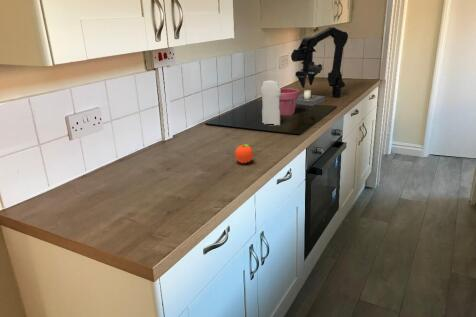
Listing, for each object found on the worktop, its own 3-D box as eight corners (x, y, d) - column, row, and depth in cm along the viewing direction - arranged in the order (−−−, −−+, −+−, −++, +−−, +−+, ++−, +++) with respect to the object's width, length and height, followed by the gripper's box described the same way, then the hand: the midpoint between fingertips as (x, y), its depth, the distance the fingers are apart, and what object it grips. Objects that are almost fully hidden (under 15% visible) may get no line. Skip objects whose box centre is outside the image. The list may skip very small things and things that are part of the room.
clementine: (244, 157, 158) (244, 140, 156) (258, 160, 154) (258, 143, 152) (231, 163, 153) (230, 145, 150) (246, 167, 148) (245, 149, 146)
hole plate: (302, 97, 256) (302, 93, 255) (325, 100, 246) (325, 96, 245) (289, 102, 244) (289, 98, 243) (312, 105, 235) (312, 101, 234)
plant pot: (286, 109, 230) (286, 86, 225) (304, 113, 219) (304, 90, 214) (267, 113, 222) (267, 90, 217) (284, 118, 211) (284, 94, 207)
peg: (305, 100, 248) (306, 89, 245) (311, 101, 245) (311, 90, 243) (302, 102, 245) (302, 90, 242) (308, 102, 243) (308, 91, 240)
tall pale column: (282, 124, 201) (282, 80, 193) (279, 126, 197) (278, 81, 190) (263, 122, 206) (262, 79, 198) (259, 124, 202) (258, 80, 194)
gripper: (312, 62, 225) (311, 90, 230) (327, 58, 238) (326, 85, 244) (295, 61, 231) (294, 88, 237) (310, 58, 245) (310, 83, 250)
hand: (307, 86), depth 242 cm, fingers open, 9 cm apart
